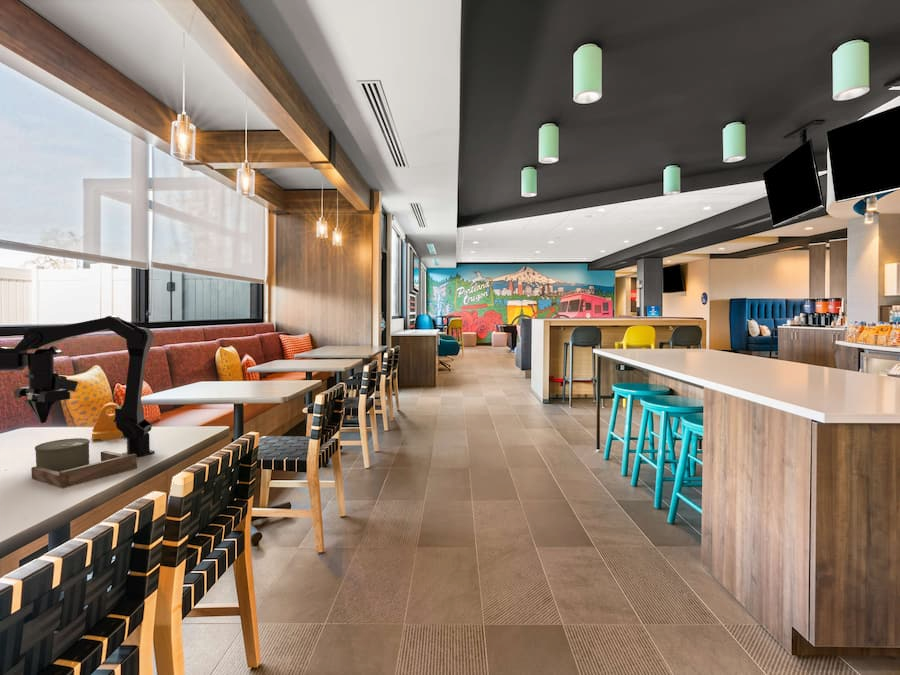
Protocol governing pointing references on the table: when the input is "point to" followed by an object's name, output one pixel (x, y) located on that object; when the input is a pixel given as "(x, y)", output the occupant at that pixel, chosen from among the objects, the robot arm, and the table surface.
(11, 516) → the table surface
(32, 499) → the table surface
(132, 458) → the pocket
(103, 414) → the bracket
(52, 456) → the can
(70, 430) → the table surface
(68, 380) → the robot arm
